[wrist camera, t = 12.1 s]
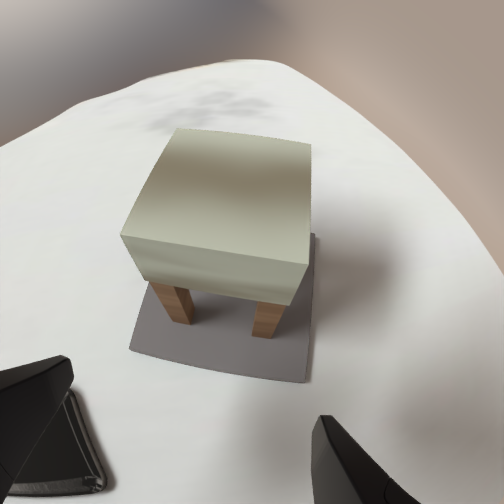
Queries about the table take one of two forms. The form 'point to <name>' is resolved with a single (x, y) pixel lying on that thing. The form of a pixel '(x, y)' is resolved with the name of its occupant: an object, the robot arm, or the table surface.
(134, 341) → the mat
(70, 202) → the table surface
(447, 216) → the table surface
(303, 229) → the stool
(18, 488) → the phone
